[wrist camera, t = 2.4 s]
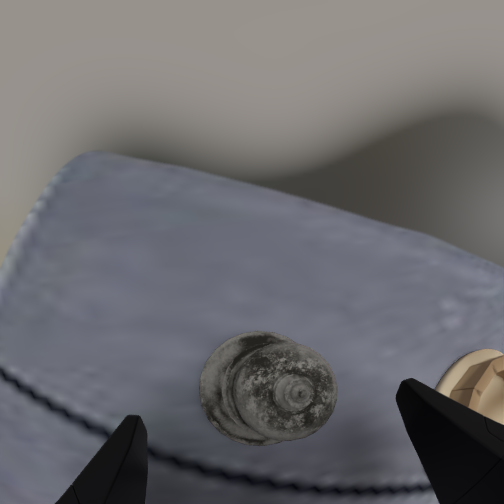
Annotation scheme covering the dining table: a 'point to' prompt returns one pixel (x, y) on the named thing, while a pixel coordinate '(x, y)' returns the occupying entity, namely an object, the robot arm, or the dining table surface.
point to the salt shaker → (267, 389)
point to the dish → (477, 383)
